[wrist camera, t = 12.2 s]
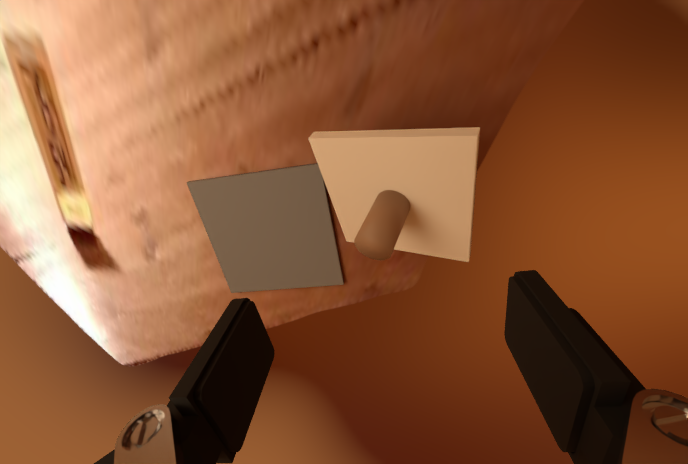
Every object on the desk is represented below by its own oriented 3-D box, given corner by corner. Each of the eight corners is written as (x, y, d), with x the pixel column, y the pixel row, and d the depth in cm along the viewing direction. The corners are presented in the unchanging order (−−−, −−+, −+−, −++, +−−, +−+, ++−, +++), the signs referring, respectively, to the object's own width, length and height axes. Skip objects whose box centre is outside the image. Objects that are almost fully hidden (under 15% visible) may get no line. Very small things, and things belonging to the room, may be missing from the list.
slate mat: (188, 181, 42) (186, 182, 42) (320, 162, 39) (319, 163, 39) (232, 290, 51) (231, 292, 50) (343, 282, 48) (343, 284, 47)
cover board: (314, 131, 28) (274, 176, 24) (480, 127, 22) (463, 187, 18) (350, 234, 39) (326, 277, 35) (470, 253, 32) (458, 310, 28)
